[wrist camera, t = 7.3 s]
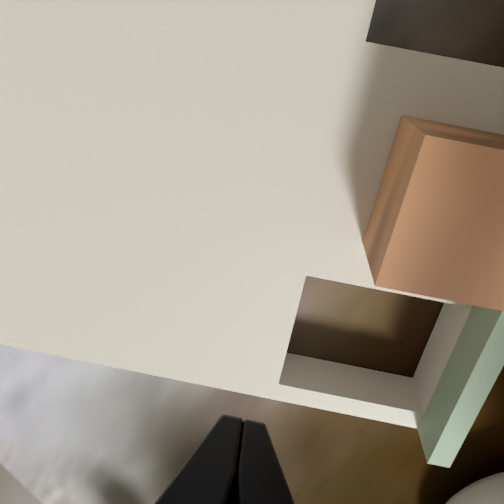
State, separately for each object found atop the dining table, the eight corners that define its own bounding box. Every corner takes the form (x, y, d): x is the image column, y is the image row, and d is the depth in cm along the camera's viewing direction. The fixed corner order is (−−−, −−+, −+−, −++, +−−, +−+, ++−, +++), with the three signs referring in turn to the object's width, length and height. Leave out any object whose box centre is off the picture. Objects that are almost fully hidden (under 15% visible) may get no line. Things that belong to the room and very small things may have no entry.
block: (542, 142, 16) (601, 168, 13) (486, 266, 18) (525, 315, 15) (401, 115, 16) (425, 134, 13) (362, 242, 18) (374, 285, 15)
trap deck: (671, -157, 14) (817, -232, 10) (425, 395, 24) (449, 468, 20) (-18, -281, 15) (-140, -401, 11) (21, 314, 25) (-34, 369, 21)
